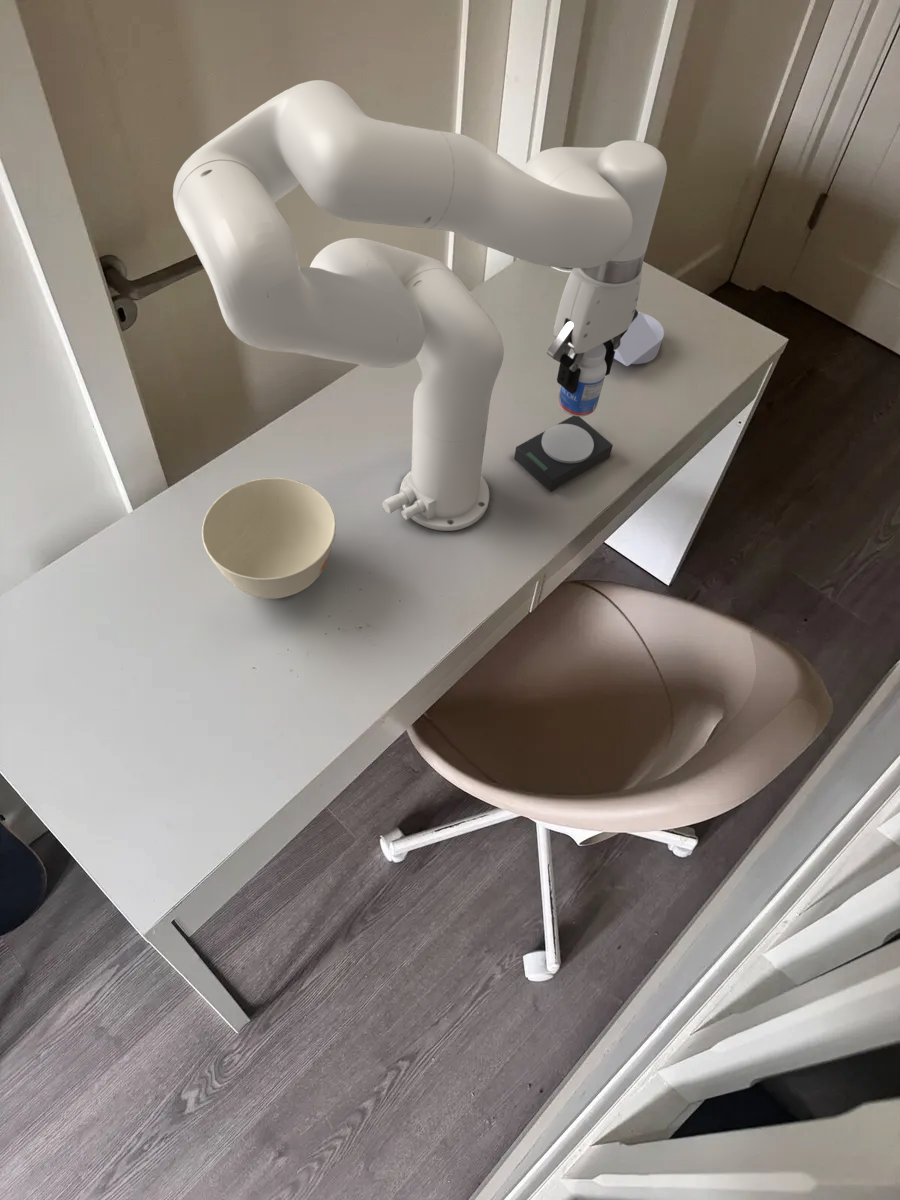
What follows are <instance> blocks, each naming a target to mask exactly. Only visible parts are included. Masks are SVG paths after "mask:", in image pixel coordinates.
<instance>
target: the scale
mask: <svg viewBox="0 0 900 1200" xmlns="http://www.w3.org/2000/svg"><path fill="white" fill-rule="evenodd" d="M613 447H614V444H613V443H611V442H610V441H609V440H607V438H605V437H604V436H603V435H602V434H601V433H600V432H598V431H597V430H596V429H595V428H594V427H592V426H591V425H590V424H589V423H587V421H585V420H584V419H583V417H582V418H581V417H578V416H572V415H571V416H570V417H568V418H566V419H564V420H562V421H561V422H559V423H557V424H554V425H551V426H550V427H548V428H547V429H546V430H544V431H543V432H541V433H539V434H537V435H535V436H533V437H531V438H530V439H528V440H526V441H524V442H522V443H521V444H519V445H517V446H516V447H515V450H514V458H513V460H515V461H516V462H517V463H518V464H519V465H520V466H521V467H522V468H523V469H525V471H526V472H528V473H529V474H530V475H531V476H532V477H533V478H534V479H535V480H536V481H538V482H539V483H540V484H541V485H542V486H543V487H544V488H545V489H546V490H547V491H548V492H550V493H552V492H553V491H554V490H556V489H558V488H560V487H562V486H563V485H564V484H567V483H568V482H570V481H571V480H573V479H575V478H577V477H579V476H580V475H582V474H583V473H586V472H587V471H589V470H590V469H592V468H593V467H595V466H597V465H599V464H600V463H602V462H604V461H605V460H607V459H609V458H610V457H611V454H612V450H613Z"/></svg>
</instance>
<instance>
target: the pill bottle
mask: <svg viewBox="0 0 900 1200" xmlns="http://www.w3.org/2000/svg"><path fill="white" fill-rule="evenodd" d="M605 354H606V348H605V346H604V345H603V344H600V345H598V346H597V347H595V348H592V349H590V350H588V351H586V352H585V353H584V356H583V358H582V360H581V362H580V364H579V368H580V369H581V372H580V377H579V381H578V386H577V390H576V392H575V393H573V394H571V393H570V392H568V391H567V390H566V389H565V388H564V387H562V386H561V385H560V389H559V390H560V391H559V393H558V394H559V395H558V406H559V407H560V409H561V410H562V411H563V412H564V413H566V414H567V415H569V416H571V417H572V416H578V417H580V418H581V417H582V418H583V417H587V416H590V415H591V414H593V413H594V412H595V410H596V409H597V407H598V404H599V400H600V397H601V393H602V390H603V386H604V382H605V378H606V376H605V374H606V370H607V365H606V362H605V360H604V359H605ZM574 355H575V353H574V352H572V354H570V355H568V356H569V357H571V358H572V359H573V357H574Z"/></svg>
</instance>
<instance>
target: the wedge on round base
mask: <svg viewBox="0 0 900 1200" xmlns="http://www.w3.org/2000/svg"><path fill="white" fill-rule="evenodd" d="M664 334H665V331H664V328H663V326H662V324H661V323H660V322H659V321H658V320H657V319H655V318H654V317H653V316H650V315H649V314H646V313H643V312H642V311H638V316H637V317H636V318H635V319H634V321H633V322H632V323H631V324H630V326H629V328H628V330H627V332H626V333H625V334H624V335H623V336H622V338H621V339H620V341H621V343H620V346H619V347H618V349H616V350H614V351H615V355H614V359H613V360H615V361H618V362H619V363H621V364H622V365H624V366H626V367H628V366H630V365H631V364H632V365H640V364H646V363H649V362H652V361H653V360H654V359H655V358H656V357H657V356H658V353H659V351H660V348H661V344H662V341H663V339H664V336H665V335H664Z"/></svg>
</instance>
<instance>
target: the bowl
mask: <svg viewBox="0 0 900 1200" xmlns="http://www.w3.org/2000/svg"><path fill="white" fill-rule="evenodd" d="M336 530H337V521H336V515H335V512H334V510H333V508H332V505H331V503H330V502H329V501H328V500H327V498H326V497H325V495H323V494H322V493H321V492H319V491H318V490H317V489H316V488H314V487H312V486H310V485H309V484H307V483H304V482H301V481H299V480H294V479H291V478H284V477H264V478H256V479H251V480H249V481H245V482H243V483H240V484H238V485H236V486H234V487H231V488H230V489H228V490H227V491H225V492H224V493H223V494H221V495H220V496H219V497H217V499H216V500H215V501H214V502H213V503H212V504H211V506H210V507H209V509H208V510H207V512H206V514H205V516H204V519H203V522H202V527H201V539H202V543H203V547H204V550H205V551H206V554H207V555H208V556H209V558H210V560H211V561H212V562H213V564H214V565H215V566H216V568H217V570H218V571H220V573H221V574H222V575H223V577H224V578H225V579H226V580H227V581H228V582H229V583H230V584H232V586H234V588H237V590H239V591H242V592H243V593H245V594H247V595H250V596H253V597H257V598H260V599H261V598H262V599H282V598H288V597H290V596H293V595H296V594H298V593H301V592H302V591H304V590H305V589H308V587H309V586H311V585H312V584H313V583H314V582H315V581H316V580H318V578H319V577H320V575H322V573H323V571H324V570H325V567H326V566H327V563H328V561H329V558H330V555H331V552H332V548H333V544H334V540H335V536H336Z"/></svg>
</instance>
